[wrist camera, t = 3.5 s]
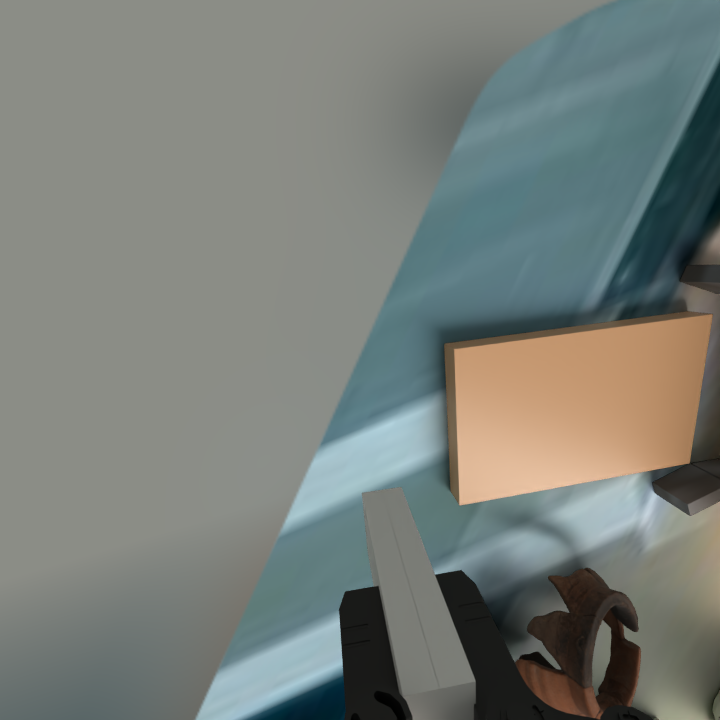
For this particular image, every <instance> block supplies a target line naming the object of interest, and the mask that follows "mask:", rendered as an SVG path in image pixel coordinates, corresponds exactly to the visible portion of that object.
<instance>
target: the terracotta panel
mask: <svg viewBox="0 0 720 720" xmlns="http://www.w3.org/2000/svg"><path fill="white" fill-rule="evenodd" d="M712 317H713V314H707V313H698V312H689V311H686V312H679V313H671V314H664V315H656V316H649V317H641V318H634V319H626V320H619V321H611V322H604V323H596V324H589V325H581V326H573V327H566V328H558V329H551V330H543V331H536V332H528V333H521V334H513V335H506V336H498V337H491V338H483V339H476V340H468V341H460V342H453V343H445V344H444V350H445V373H446V396H447V418H448V441H449V464H450V487H451V493H452V494H453V496H454V497H455V499H456V500H457V502H458V504H459V505H465V504H471V503H476V502H482V501H487V500H492V499H498V498H503V497H509V496H514V495H520V494H525V493H531V492H536V491H542V490H547V489H552V488H558V487H563V486H569V485H574V484H580V483H585V482H591V481H596V480H602V479H607V478H612V477H618V476H623V475H629V474H634V473H640V472H645V471H651V470H656V469H662V468H667V467H672V466H678V465H683V464H689V463H690V457H691V451H692V444H693V438H694V432H695V425H696V419H697V413H698V406H699V400H700V393H701V387H702V381H703V374H704V368H705V362H706V355H707V349H708V342H709V336H710V330H711V323H712Z"/></svg>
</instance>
